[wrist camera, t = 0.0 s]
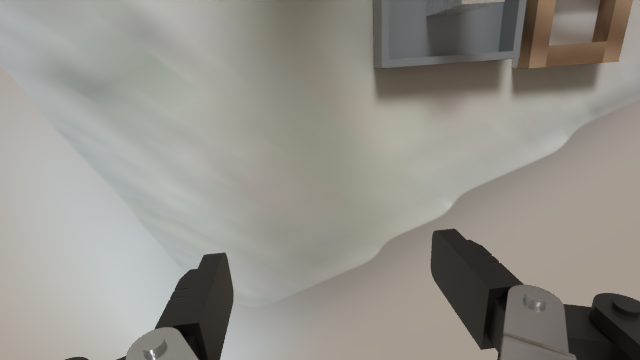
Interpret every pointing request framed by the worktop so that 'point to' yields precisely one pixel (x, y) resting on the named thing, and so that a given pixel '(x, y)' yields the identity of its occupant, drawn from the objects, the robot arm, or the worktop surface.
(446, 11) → the block
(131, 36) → the worktop surface
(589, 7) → the pallet
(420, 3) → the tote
